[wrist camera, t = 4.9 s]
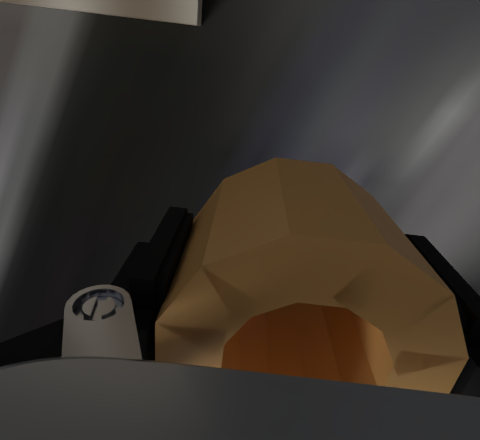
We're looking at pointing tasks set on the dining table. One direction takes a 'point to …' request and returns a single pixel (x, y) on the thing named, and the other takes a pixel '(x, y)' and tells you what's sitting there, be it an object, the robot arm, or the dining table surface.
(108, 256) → the dining table surface
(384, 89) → the dining table surface
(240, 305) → the collar
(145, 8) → the post base
